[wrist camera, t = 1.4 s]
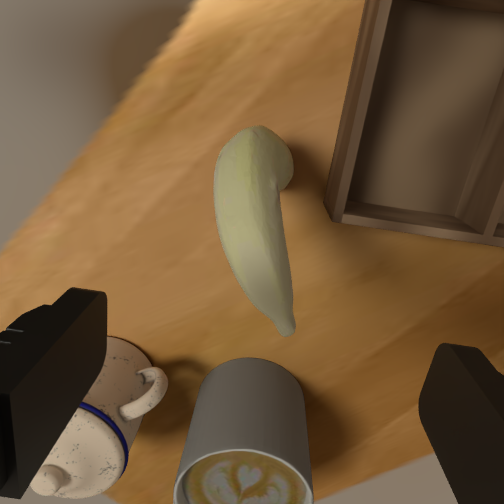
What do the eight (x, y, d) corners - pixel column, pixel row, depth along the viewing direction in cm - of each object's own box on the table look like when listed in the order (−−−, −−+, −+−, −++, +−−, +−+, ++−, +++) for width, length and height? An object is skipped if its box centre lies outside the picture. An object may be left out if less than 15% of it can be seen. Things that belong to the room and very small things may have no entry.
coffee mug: (264, 339, 35) (260, 426, 26) (324, 415, 38) (340, 519, 28) (149, 404, 38) (108, 503, 29) (211, 470, 41) (192, 580, 32)
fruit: (279, 82, 26) (231, 96, 27) (260, 209, 14) (174, 226, 15) (303, 180, 30) (260, 189, 31) (302, 340, 18) (234, 347, 19)
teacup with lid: (98, 424, 39) (30, 547, 29) (43, 353, 37) (-55, 459, 26) (204, 384, 37) (174, 502, 26) (153, 304, 34) (97, 400, 23)
